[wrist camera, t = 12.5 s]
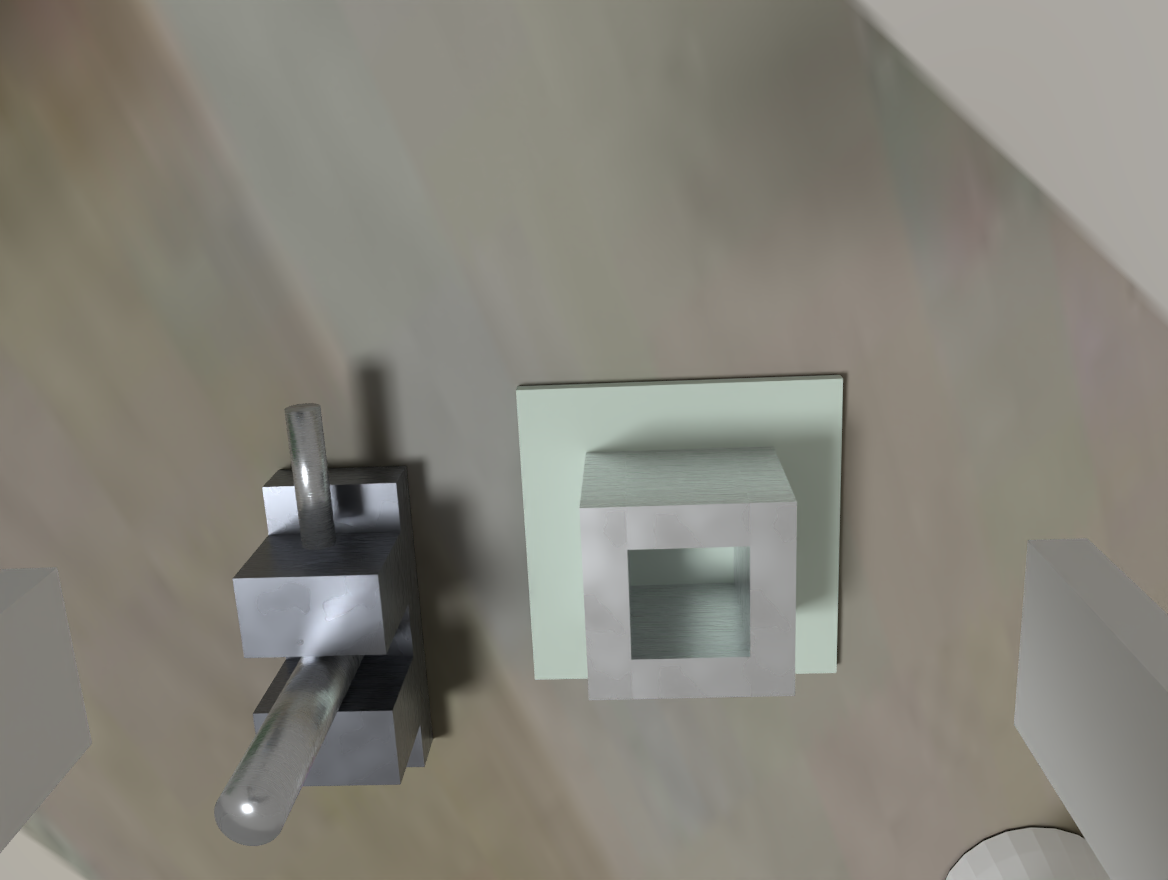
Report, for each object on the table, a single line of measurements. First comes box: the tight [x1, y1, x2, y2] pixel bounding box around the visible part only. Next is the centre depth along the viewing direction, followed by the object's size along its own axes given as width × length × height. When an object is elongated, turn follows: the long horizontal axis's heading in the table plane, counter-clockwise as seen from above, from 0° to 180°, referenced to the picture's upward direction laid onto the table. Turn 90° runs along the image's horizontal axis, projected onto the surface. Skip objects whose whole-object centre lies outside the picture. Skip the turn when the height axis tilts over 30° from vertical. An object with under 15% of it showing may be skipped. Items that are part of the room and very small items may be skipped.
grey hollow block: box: [579, 446, 797, 700], centre depth 40 cm, size 7×7×6 cm
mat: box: [516, 375, 843, 680], centre depth 43 cm, size 12×12×1 cm
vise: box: [214, 403, 433, 846], centre depth 38 cm, size 16×5×14 cm, turn 3°
